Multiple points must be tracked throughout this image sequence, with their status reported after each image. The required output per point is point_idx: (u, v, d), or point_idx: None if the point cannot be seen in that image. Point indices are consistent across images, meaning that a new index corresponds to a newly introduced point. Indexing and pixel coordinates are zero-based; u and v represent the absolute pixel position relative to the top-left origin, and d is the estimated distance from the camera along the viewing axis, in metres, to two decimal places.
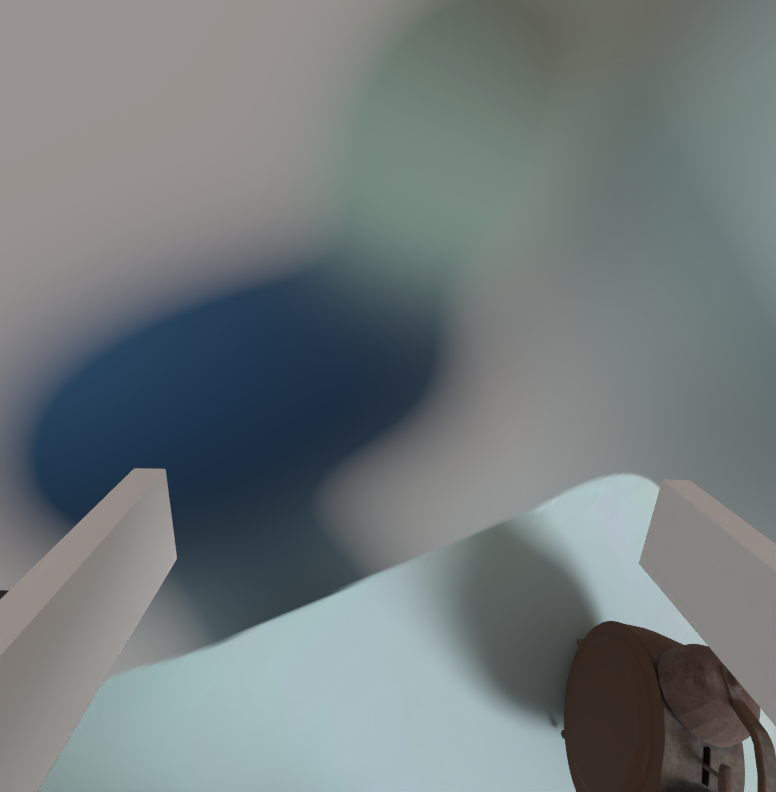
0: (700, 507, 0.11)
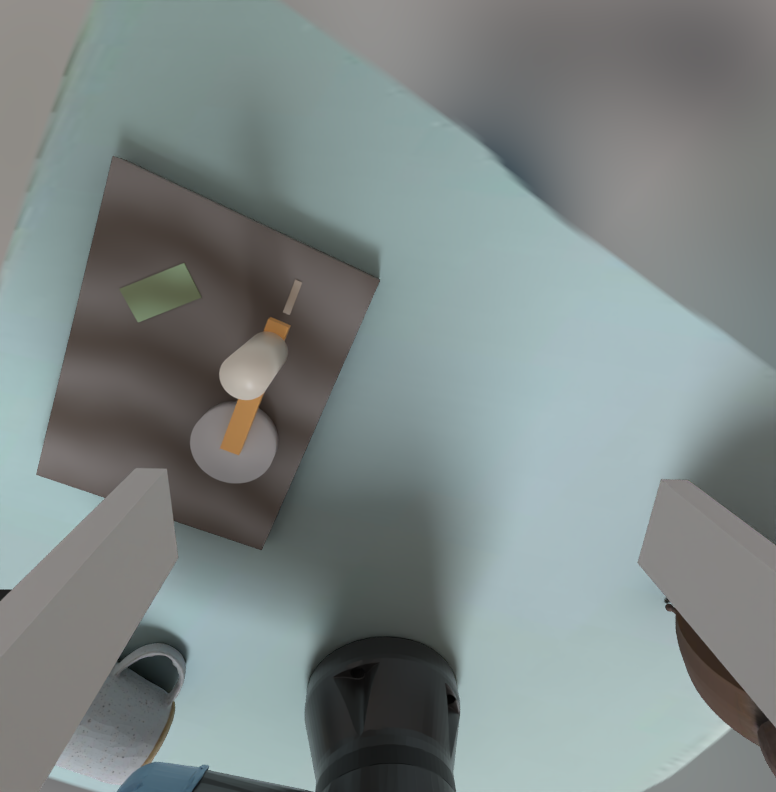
0: (699, 507, 0.11)
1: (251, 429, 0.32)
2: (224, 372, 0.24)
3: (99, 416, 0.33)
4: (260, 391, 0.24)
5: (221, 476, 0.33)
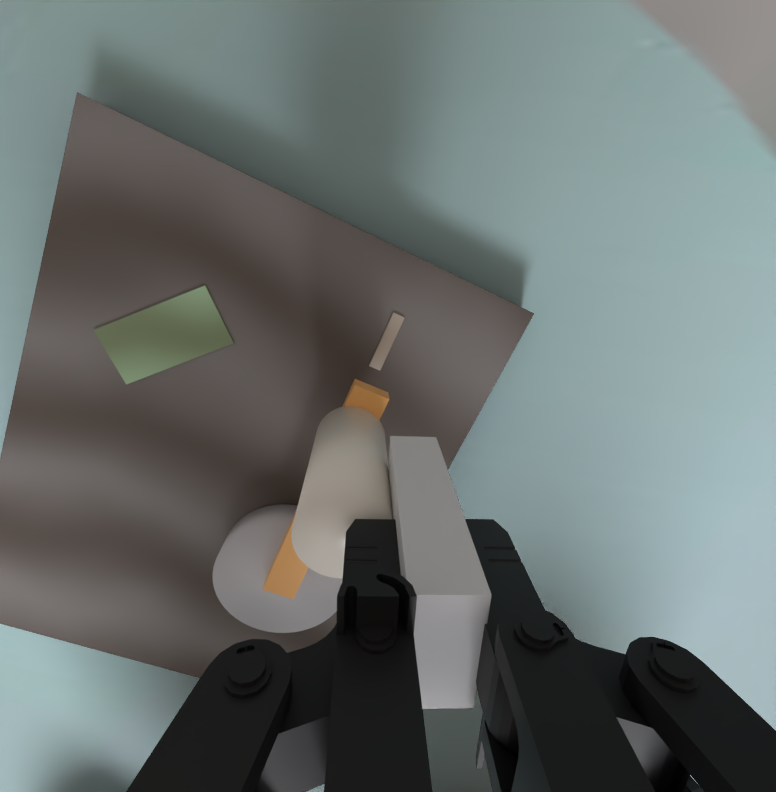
0: (419, 456, 0.12)
1: None
2: (303, 529, 0.11)
3: (64, 528, 0.20)
4: None
5: (261, 623, 0.21)
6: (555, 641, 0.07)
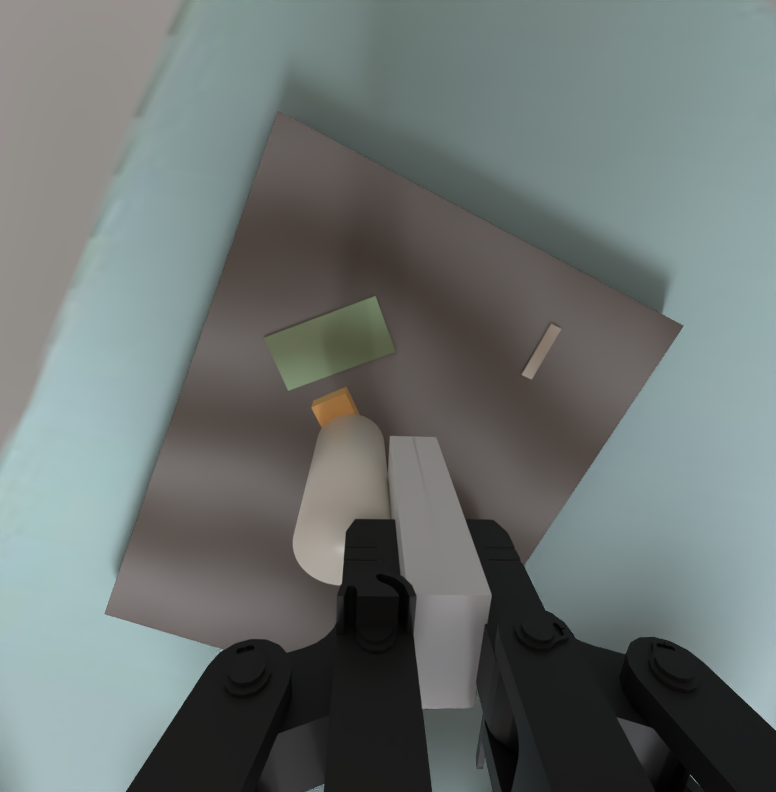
0: (419, 456, 0.12)
1: None
2: (311, 563, 0.12)
3: (209, 530, 0.21)
4: None
5: None
6: (556, 640, 0.07)
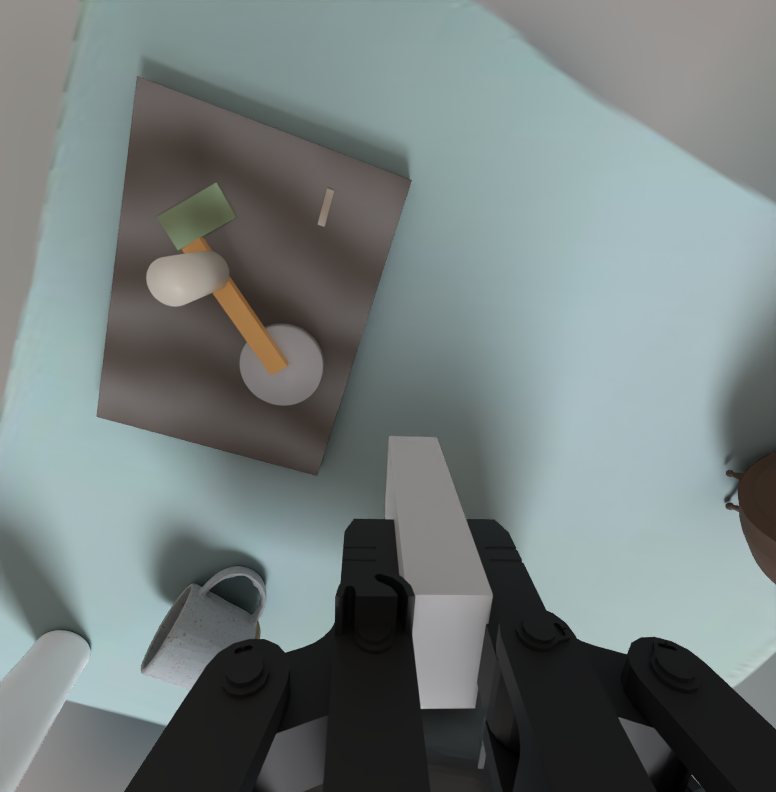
0: (420, 456, 0.12)
1: (275, 341, 0.32)
2: (158, 294, 0.24)
3: (149, 351, 0.34)
4: (192, 279, 0.24)
5: (301, 396, 0.34)
6: (557, 640, 0.07)
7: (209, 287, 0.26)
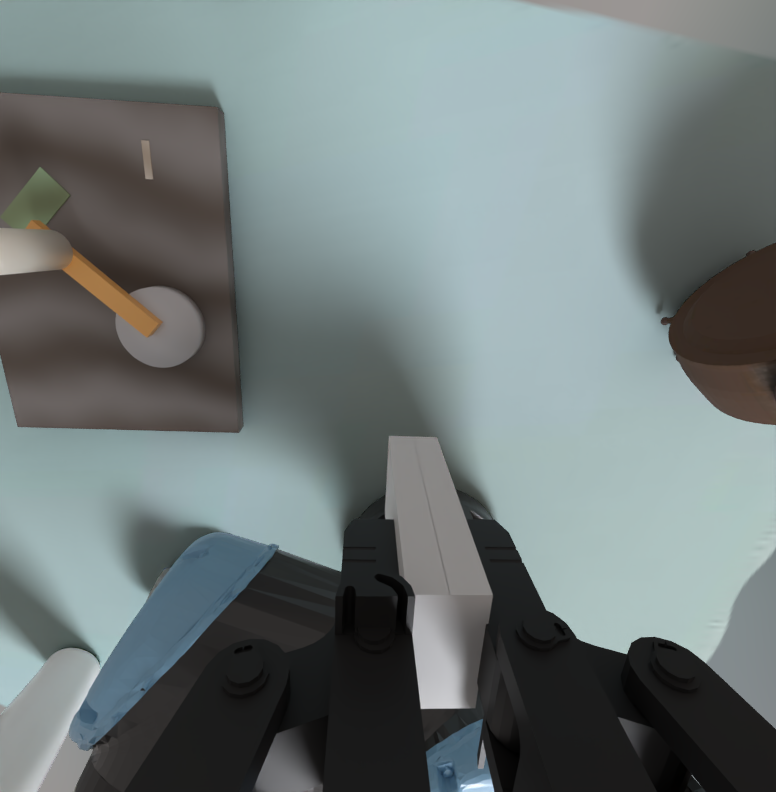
0: (420, 456, 0.12)
1: (142, 303, 0.33)
2: None
3: (41, 349, 0.35)
4: None
5: (186, 352, 0.34)
6: (557, 640, 0.07)
7: (34, 255, 0.27)
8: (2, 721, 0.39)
